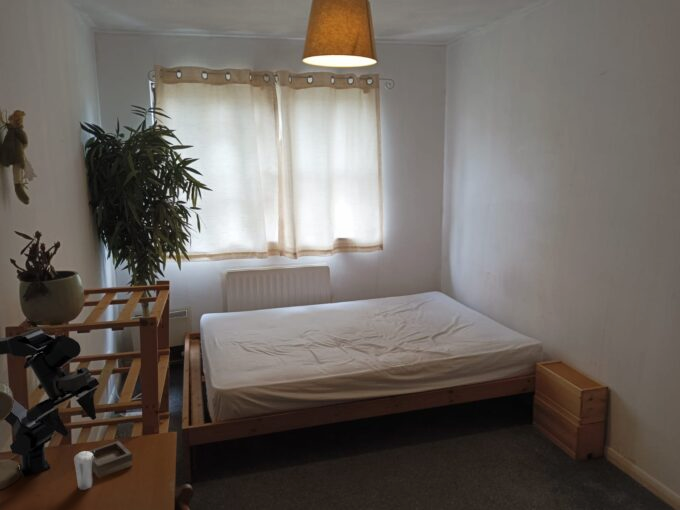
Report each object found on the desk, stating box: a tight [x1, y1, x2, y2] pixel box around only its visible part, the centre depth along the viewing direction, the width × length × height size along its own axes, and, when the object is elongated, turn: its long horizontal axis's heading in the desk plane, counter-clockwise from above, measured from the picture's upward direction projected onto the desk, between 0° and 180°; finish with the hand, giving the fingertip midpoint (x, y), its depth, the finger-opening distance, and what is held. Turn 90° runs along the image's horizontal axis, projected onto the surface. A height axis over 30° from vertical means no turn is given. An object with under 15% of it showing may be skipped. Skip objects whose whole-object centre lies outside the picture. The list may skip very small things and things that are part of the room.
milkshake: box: [73, 450, 95, 491], centre depth 136 cm, size 4×5×10 cm
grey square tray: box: [88, 440, 133, 479], centre depth 146 cm, size 9×9×4 cm
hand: (81, 427), depth 136 cm, fingers open, 9 cm apart
